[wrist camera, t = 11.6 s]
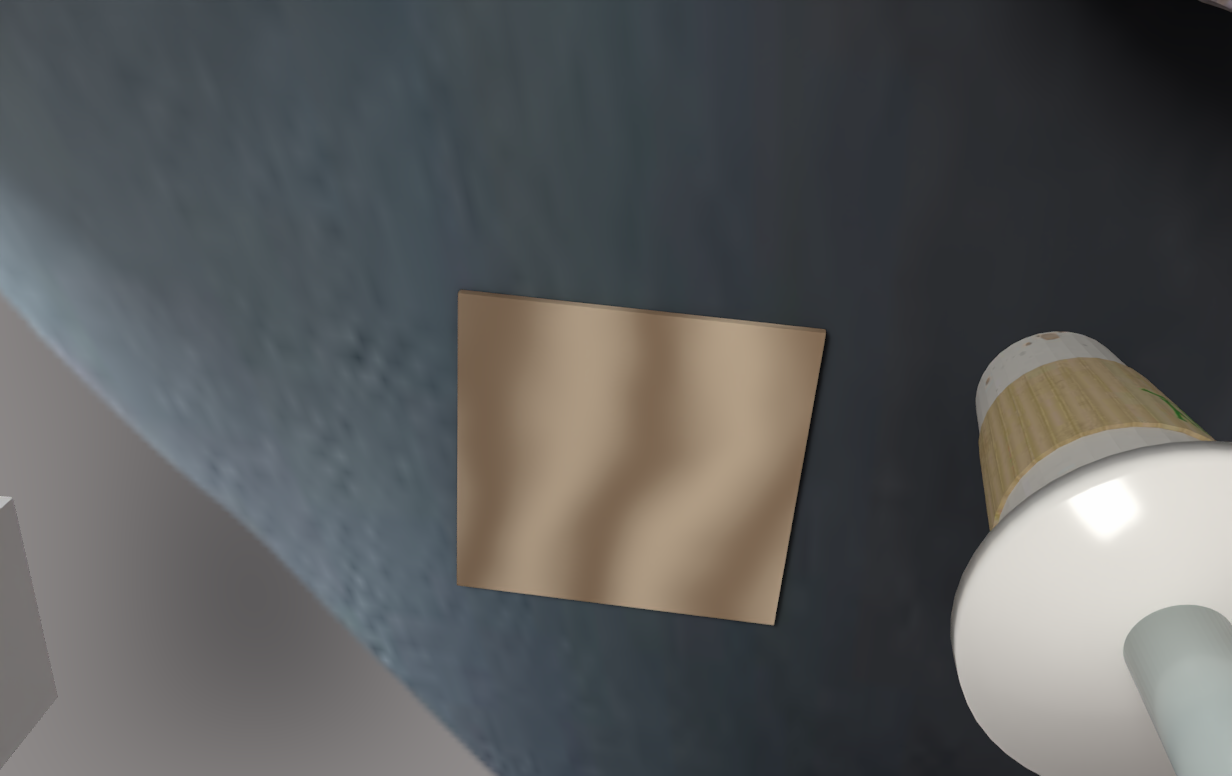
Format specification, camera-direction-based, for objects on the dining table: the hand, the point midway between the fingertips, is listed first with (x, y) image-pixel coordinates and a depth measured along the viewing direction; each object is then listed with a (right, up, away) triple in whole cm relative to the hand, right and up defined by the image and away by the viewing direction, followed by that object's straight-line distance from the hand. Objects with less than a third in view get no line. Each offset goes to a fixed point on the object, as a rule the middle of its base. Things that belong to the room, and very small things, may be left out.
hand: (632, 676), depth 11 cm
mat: (0, -1, +40) cm, 40 cm away
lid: (+17, -4, +22) cm, 29 cm away
